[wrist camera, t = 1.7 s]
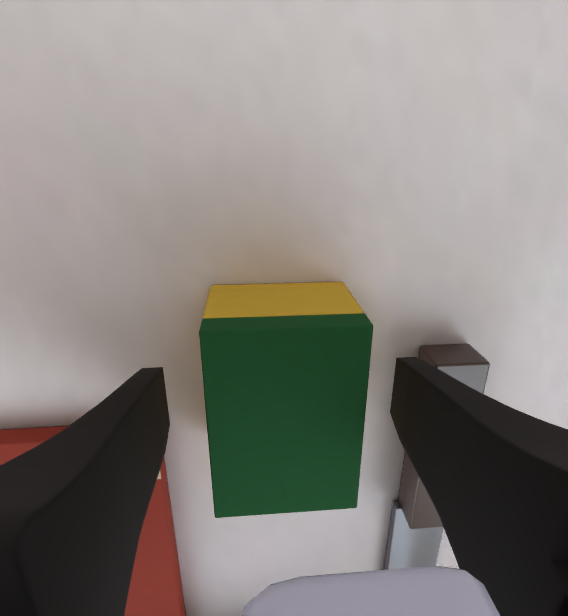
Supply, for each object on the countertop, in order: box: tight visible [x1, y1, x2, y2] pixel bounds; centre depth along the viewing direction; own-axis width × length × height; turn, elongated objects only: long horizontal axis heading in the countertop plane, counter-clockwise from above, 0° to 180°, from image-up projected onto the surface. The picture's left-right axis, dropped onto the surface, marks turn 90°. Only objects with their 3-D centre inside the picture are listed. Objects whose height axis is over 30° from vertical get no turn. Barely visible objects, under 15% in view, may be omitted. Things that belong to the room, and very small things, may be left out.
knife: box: [384, 344, 490, 570], centre depth 17 cm, size 2×20×2 cm, turn 0°
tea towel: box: [0, 426, 186, 616], centre depth 16 cm, size 6×12×1 cm, turn 0°
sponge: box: [199, 282, 373, 518], centre depth 13 cm, size 4×6×3 cm
